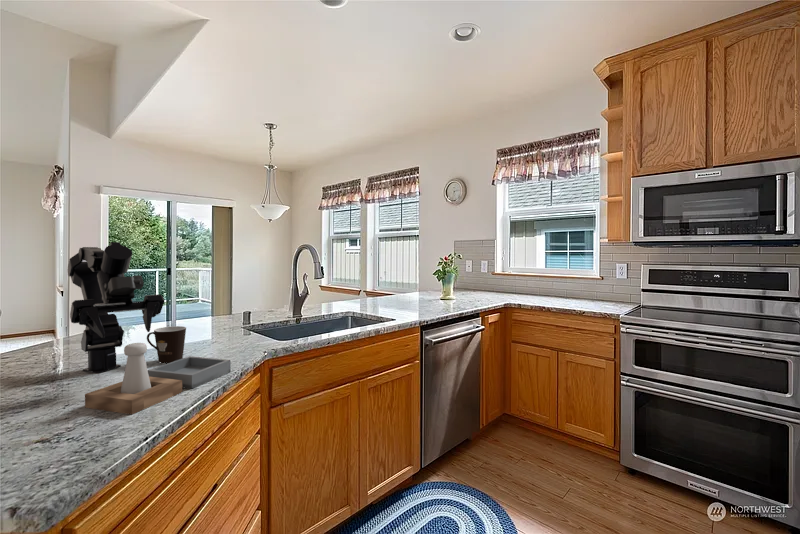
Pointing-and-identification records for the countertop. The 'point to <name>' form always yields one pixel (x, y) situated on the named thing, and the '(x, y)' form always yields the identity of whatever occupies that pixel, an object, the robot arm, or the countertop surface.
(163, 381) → the socket block
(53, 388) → the countertop surface
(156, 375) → the tray
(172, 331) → the coffee mug
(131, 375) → the salt shaker
